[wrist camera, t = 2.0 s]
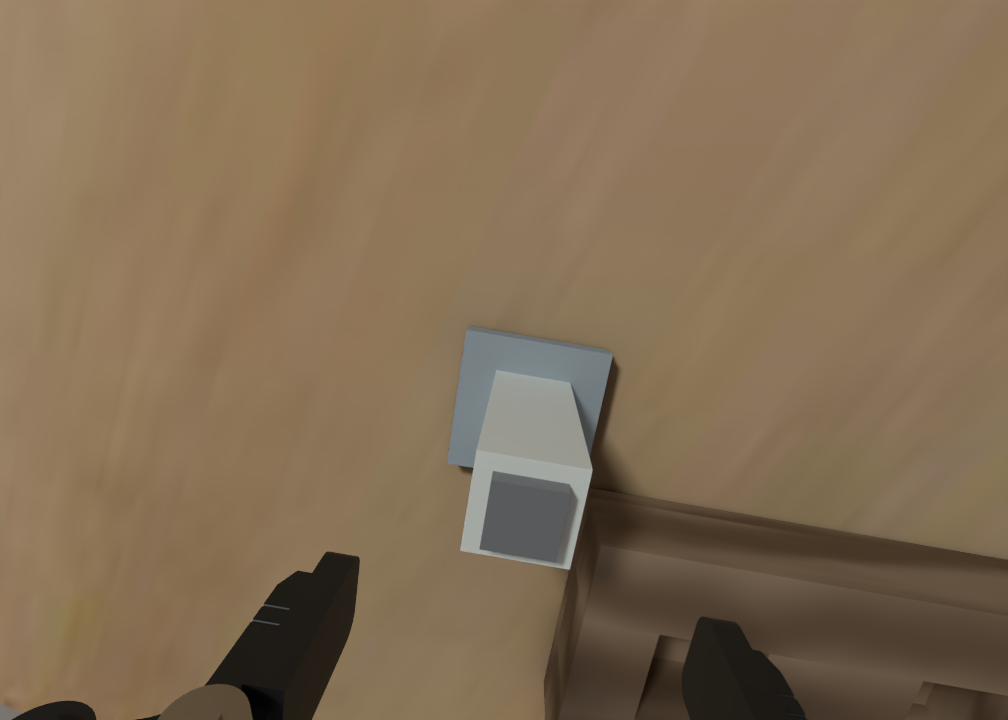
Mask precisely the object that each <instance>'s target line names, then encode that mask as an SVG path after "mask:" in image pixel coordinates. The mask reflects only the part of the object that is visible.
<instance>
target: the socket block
mask: <svg viewBox="0 0 1008 720" xmlns="http://www.w3.org/2000/svg"><path fill="white" fill-rule="evenodd" d="M703 616H704V617H710V618H715V619H721V620H727V621H733V622H736V623H737V624H738V625H739V626H740V628H741V629H742V631H743V633H744V635H745V637H746V639H747V641H748V642H749V644H750V646H751V648H752V649H753V650H758V651H761V652H762V653H763V654H764V655H765V656H766V657H767V658H768V659H769V660H770V661H771V662H772V663H773V664H774V665H775V666H776V667H777V668H778V669H779V670H780V672H781V673H782V675H783V676H784V678H785V680H786V682H787V683H788V685H789V687H790V688H791V690H792V692H793V694H794V698H795V699H796V700H798V702H799V704H800V706H801V707H802V709H803V711H804V713H805V717H806V719H809V720H1008V560H1004V559H998V558H993V557H987V556H981V555H975V554H970V553H964V552H958V551H952V550H946V549H941V548H935V547H929V546H923V545H918V544H912V543H906V542H900V541H894V540H889V539H883V538H877V537H871V536H866V535H860V534H854V533H848V532H843V531H837V530H831V529H825V528H819V527H814V526H808V525H802V524H796V523H791V522H785V521H779V520H773V519H767V518H762V517H756V516H750V515H744V514H739V513H733V512H727V511H721V510H715V509H710V508H704V507H698V506H692V505H687V504H681V503H675V502H669V501H663V500H658V499H652V498H646V497H640V496H635V495H629V494H623V493H617V492H612V491H606V490H600V489H594V488H588V493H587V497H586V502H585V506H584V510H583V515H582V519H581V523H580V528H579V532H578V536H577V541H576V545H575V549H574V554H573V558H572V562H571V567H570V570H569V575H568V579H567V583H566V588H565V592H564V597H563V601H562V605H561V610H560V614H559V618H558V623H557V627H556V631H555V636H554V640H553V644H552V649H551V653H550V657H549V662H548V666H547V670H546V675H545V679H544V698H545V720H690V717H689V714H688V711H687V708H686V705H685V702H684V699H683V694H682V670H683V666H684V663H685V660H686V657H687V653H688V650H689V647H690V644H691V640H692V637H693V634H694V631H695V627H696V624H697V622H698V620H699V618H700V617H703Z"/></svg>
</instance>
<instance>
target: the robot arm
mask: <svg viewBox="0 0 1008 720" xmlns="http://www.w3.org/2000/svg"><path fill="white" fill-rule="evenodd" d="M359 564H360V560H359V557H358V556H352V555H346V554H340V553H334V552H326V553H325V554H324V556H323V557H322V559H321V560H320V562H319V563H318V565H317V566H316V568H315V570H314V571H313V573H308V572H302V571H296V572H295V573H294V574H292V575H291V576H289V577H288V578H286V579H285V580H284V581H282V582H281V583H279V584H278V585H277V586H276V587H275V589H274V590H273V592H272V593H271V594H270V596H269V597H268V599H267V600H266V601H265V603H264V606H263V607H261V608H260V610H259V611H258V613H257V614H256V615H255V617H254V618H253V621H252V622H250V624H249V625H248V626H247V628H246V629H245V631H244V632H243V633H242V635H241V636H240V638H239V639H238V640H237V642H236V643H235V645H234V646H233V647H232V649H231V650H230V652H229V653H228V654H227V656H226V657H225V659H224V660H223V661H222V663H221V664H220V666H219V667H218V668H217V670H216V671H215V672H214V674H213V675H212V677H211V678H210V679H209V681H208V682H207V683H206V685H205V686H203V687H199V688H197V689H194V690H192V691H190V692H188V693H186V694H184V695H182V696H181V697H179V698H178V699H176V700H175V701H174V702H173V703H171V704H170V705H169V706H168V707H167V708H166V709H165V710H164V711H163V712H162V714H160V715H156V716H153V717H149V718H143V719H137V720H312V718H313V716H314V713H315V711H316V709H317V707H318V704H319V702H320V700H321V698H322V695H323V693H324V691H325V689H326V686H327V684H328V682H329V680H330V678H331V675H332V673H333V671H334V669H335V666H336V664H337V662H338V660H339V657H340V655H341V653H342V651H343V648H344V646H345V644H346V642H347V639H348V636H349V633H350V630H351V627H352V623H353V618H354V613H355V604H356V594H357V584H358V574H359ZM682 694H683V699H684V702H685V705H686V708H687V711H688V714H689V717H690V720H809V719H806V717H805V713H804V711H803V709H802V707H801V706H800V704H799V702H798V700H796V699H795V698H794V694H793V692H792V690H791V688H790V687H789V685H788V683H787V682H786V680H785V678H784V676H783V675H782V673H781V672H780V670H779V669H778V668H777V667H776V666H775V665H774V664H773V663H772V662H771V661H770V660H769V659H768V658H767V657H766V656H765V655H764V654H763V653H762V652H761V651H758V650H753V649H752V648H751V646H750V644H749V642H748V641H747V639H746V637H745V635H744V633H743V631H742V629H741V628H740V626H739V625H738V624H737V623H736V622H733V621H727V620H721V619H715V618H710V617H704V616H703V617H700V618H699V620H698V622H697V624H696V627H695V631H694V634H693V637H692V640H691V644H690V647H689V650H688V653H687V657H686V660H685V663H684V666H683V670H682ZM12 720H96V716H95V713H94V711H93V710H92V708H90V707H89V706H88V705H86V704H84V703H82V702H77V701H59V702H54V703H49V704H45V705H42V706H39V707H36V708H34V709H32V710H29V711H27V712H25V713H23V714H21V715H19V716H17V717H16V718H14V719H12Z"/></svg>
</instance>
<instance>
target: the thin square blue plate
mask: <svg viewBox="0 0 1008 720" xmlns="http://www.w3.org/2000/svg"><path fill="white" fill-rule="evenodd" d="M612 357H613V354H612V353H611V351H610V350H607V349H601V348H595V347H590V346H584V345H578V344H572V343H566V342H560V341H554V340H549V339H543V338H537V337H531V336H525V335H519V334H513V333H507V332H502V331H496V330H490V329H484V328H478V327H472V326H469V327H468V328H467V330H466V336H465V343H464V350H463V357H462V364H461V371H460V377H459V384H458V391H457V398H456V405H455V412H454V419H453V426H452V432H451V439H450V446H449V453H448V460H447V463H448V464H454V465H459V466H465V467H471V468H474V462H475V456H476V450H477V446H478V442H479V438H480V434H481V430H482V426H483V422H484V418H485V414H486V410H487V406H488V401H489V397H490V393H491V389H492V385H493V381H494V377H495V373H496V370H499V371H504V372H510V373H516V374H522V375H528V376H534V377H540V378H545V379H551V380H557V381H563V382H569V383H570V384H571V388H572V391H573V395H574V399H575V403H576V407H577V411H578V415H579V419H580V422H581V426H582V430H583V434H584V438H585V442H586V446H587V450H588V453H589V457H590V454H591V450H592V445H593V441H594V436H595V432H596V427H597V423H598V419H599V414H600V410H601V405H602V401H603V397H604V392H605V388H606V383H607V379H608V375H609V370H610V366H611V361H612Z"/></svg>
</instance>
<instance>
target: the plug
mask: <svg viewBox="0 0 1008 720" xmlns="http://www.w3.org/2000/svg"><path fill="white" fill-rule="evenodd" d="M592 471H593V469H592V465H591V461H590V457H589V453H588V450H587V446H586V442H585V438H584V434H583V430H582V426H581V422H580V419H579V415H578V411H577V407H576V403H575V399H574V395H573V391H572V388H571V384H570V383H569V382H563V381H557V380H551V379H545V378H540V377H534V376H528V375H522V374H516V373H510V372H504V371H499V370H496V373H495V377H494V381H493V385H492V389H491V393H490V397H489V401H488V406H487V410H486V414H485V418H484V422H483V426H482V430H481V434H480V438H479V442H478V446H477V450H476V456H475V462H474V468H473V475H472V481H471V487H470V493H469V499H468V506H467V512H466V518H465V524H464V530H463V537H462V543H461V549H460V551H466V552H471V553H477V554H483V555H489V556H494V557H500V558H506V559H511V560H517V561H523V562H529V563H534V564H540V565H546V566H551V567H557V568H563V569H569V570H570V567H571V562H572V558H573V554H574V549H575V545H576V541H577V536H578V532H579V528H580V523H581V519H582V515H583V510H584V506H585V502H586V497H587V493H588V488H589V484H590V480H591V475H592Z"/></svg>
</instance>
